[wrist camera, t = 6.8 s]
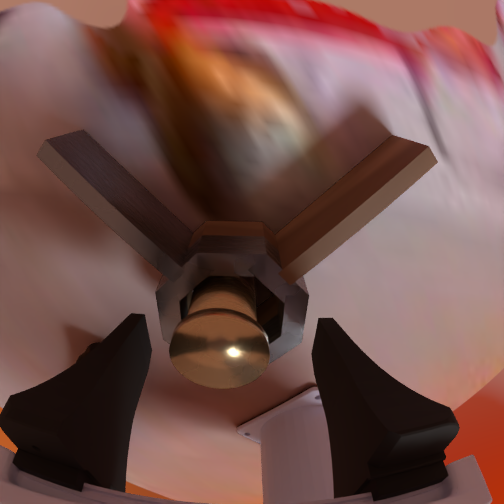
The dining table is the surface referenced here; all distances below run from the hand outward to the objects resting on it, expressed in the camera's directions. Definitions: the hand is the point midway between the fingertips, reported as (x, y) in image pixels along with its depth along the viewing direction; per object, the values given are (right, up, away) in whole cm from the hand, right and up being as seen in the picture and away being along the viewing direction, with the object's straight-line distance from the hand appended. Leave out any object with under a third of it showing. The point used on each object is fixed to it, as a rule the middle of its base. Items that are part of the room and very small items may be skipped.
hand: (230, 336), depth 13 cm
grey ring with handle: (-3, +5, +3) cm, 6 cm away
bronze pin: (0, +2, +4) cm, 5 cm away
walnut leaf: (+3, +4, +3) cm, 6 cm away
